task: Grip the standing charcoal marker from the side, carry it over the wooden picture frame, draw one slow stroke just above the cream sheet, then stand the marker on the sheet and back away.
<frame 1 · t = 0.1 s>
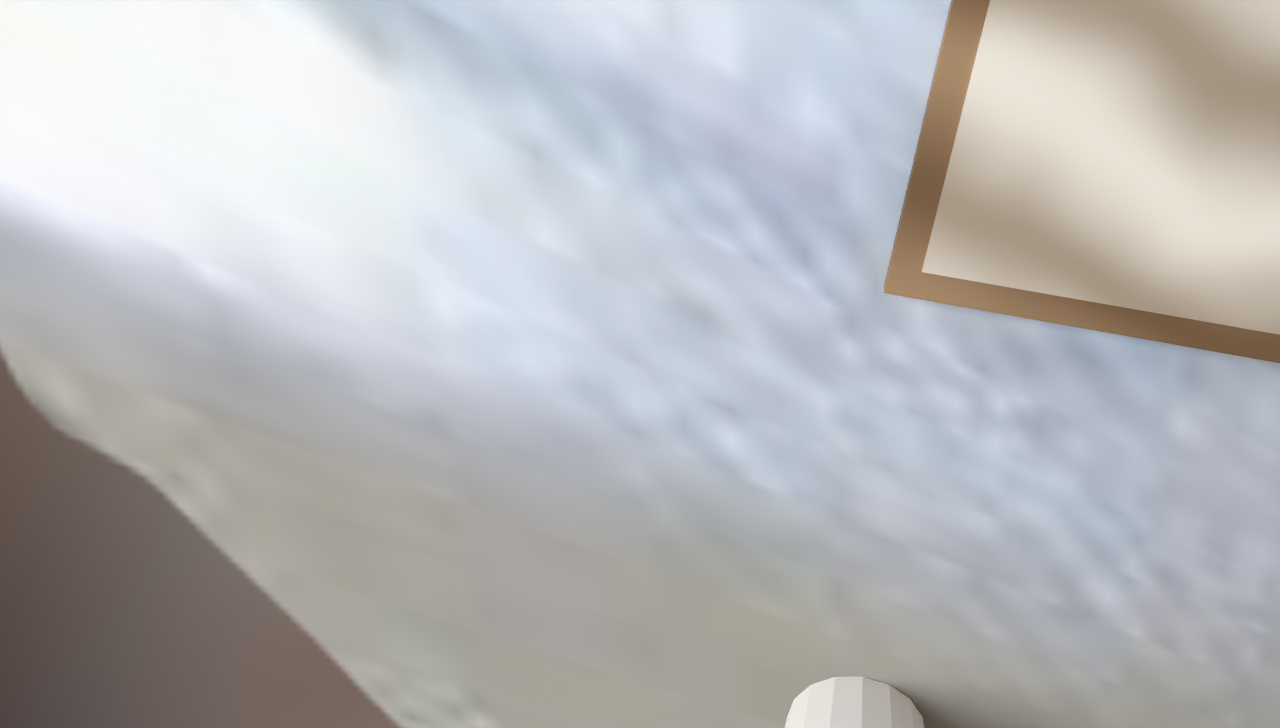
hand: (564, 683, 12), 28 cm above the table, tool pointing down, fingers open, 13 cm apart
wooden picture frame: (1194, 48, 34), on the table
white cylinder: (855, 723, 49), on the table
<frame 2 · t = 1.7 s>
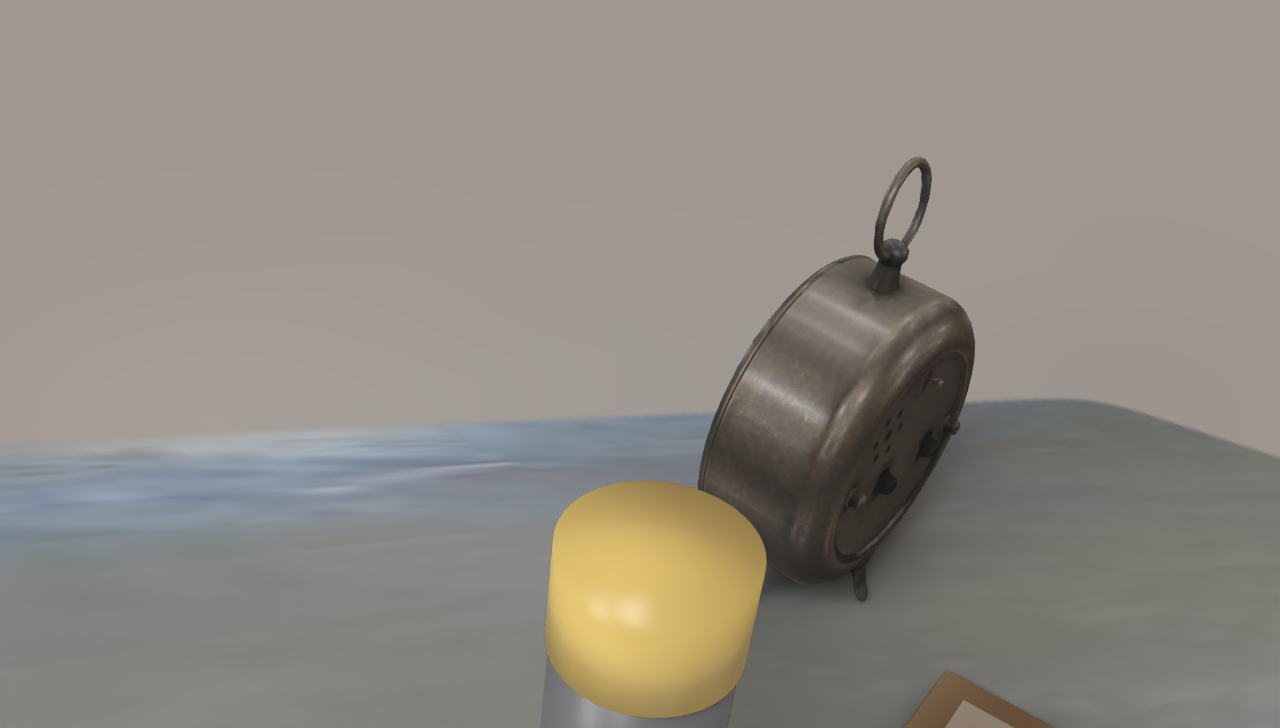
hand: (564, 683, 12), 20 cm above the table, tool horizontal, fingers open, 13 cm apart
alarm clock: (813, 575, 44), on the table
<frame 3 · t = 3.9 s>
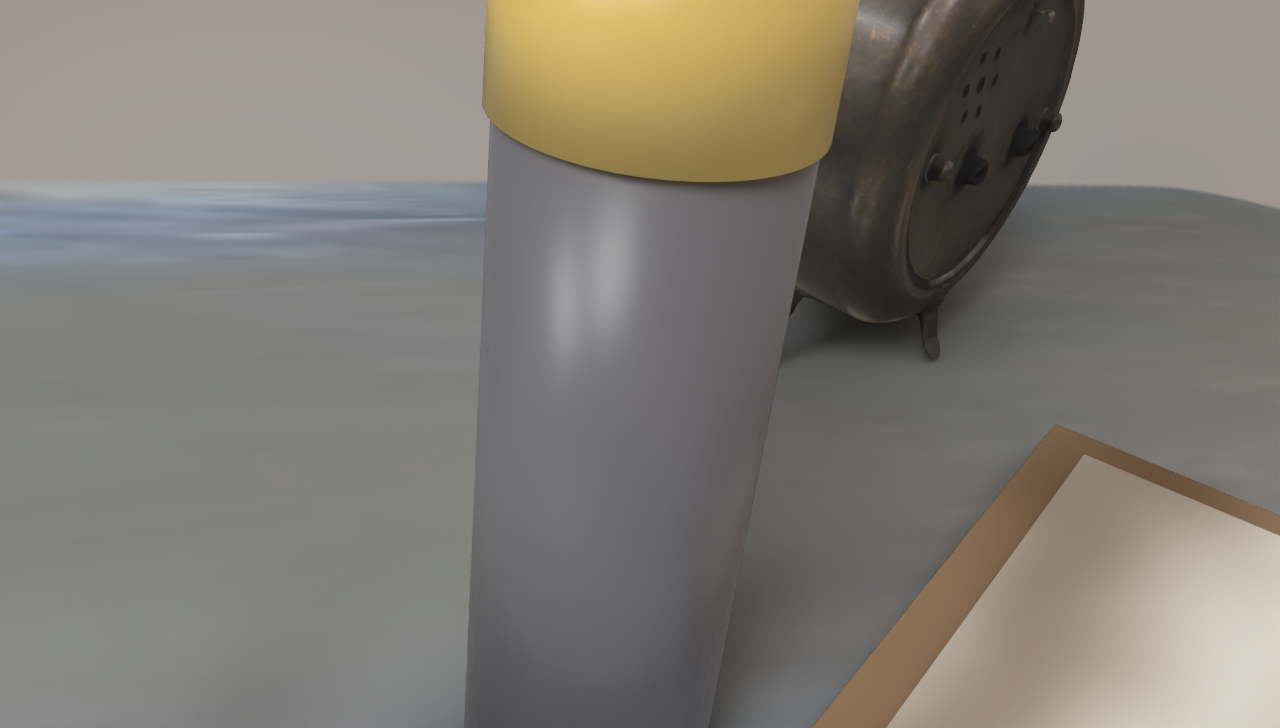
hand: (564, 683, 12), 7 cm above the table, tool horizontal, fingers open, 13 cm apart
alarm clock: (866, 336, 34), on the table
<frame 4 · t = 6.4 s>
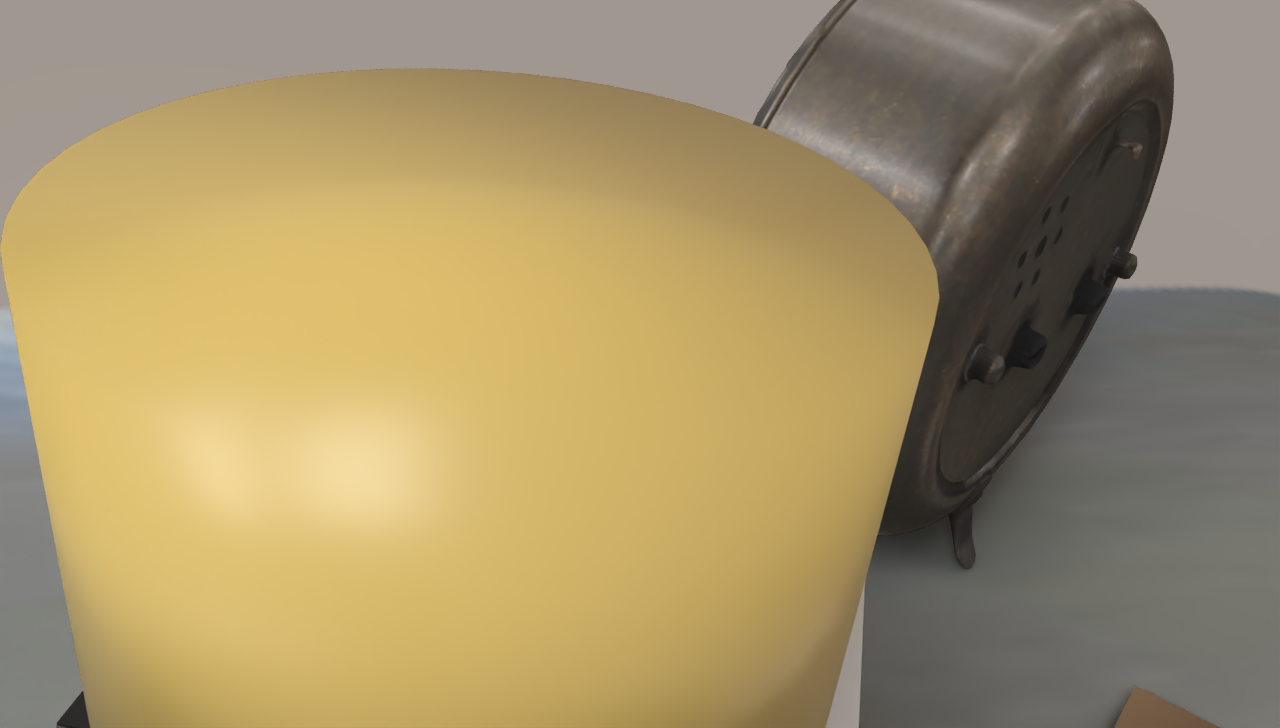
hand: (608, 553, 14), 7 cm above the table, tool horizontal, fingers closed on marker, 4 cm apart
alarm clock: (879, 527, 26), on the table
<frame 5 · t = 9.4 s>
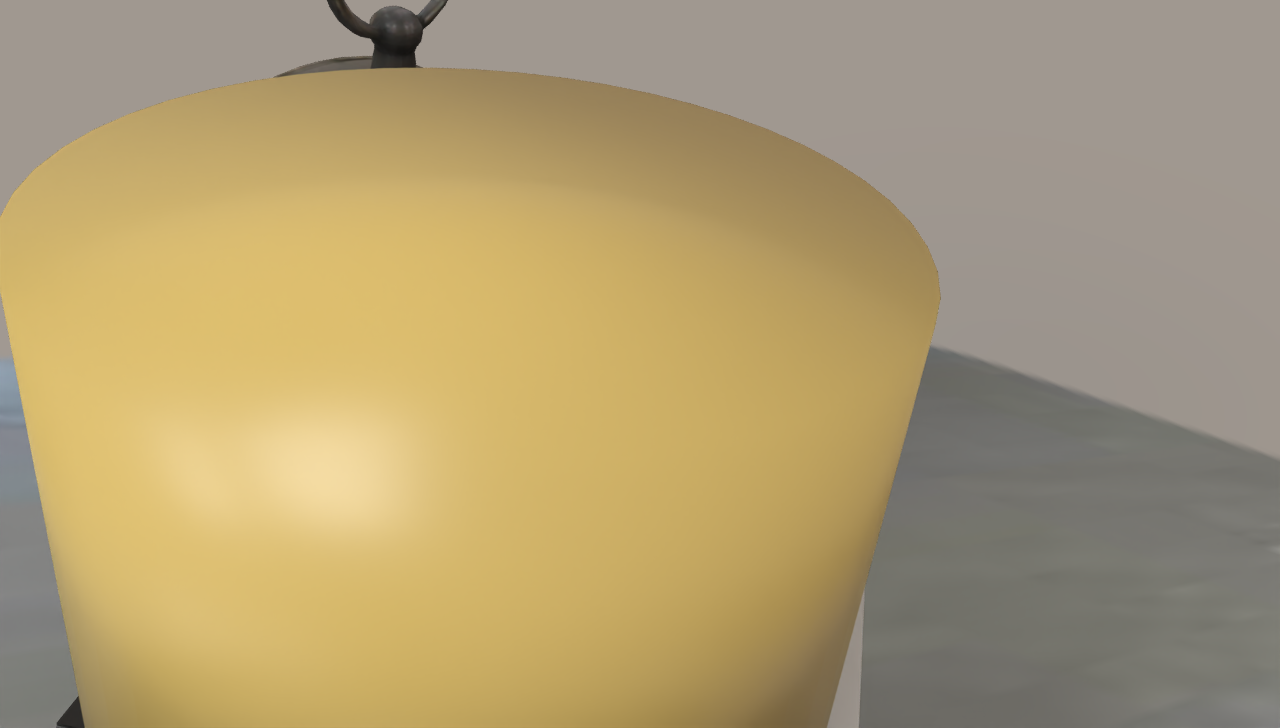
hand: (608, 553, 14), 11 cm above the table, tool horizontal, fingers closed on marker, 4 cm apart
alarm clock: (389, 586, 28), on the table
when the fingers open (8 cm above the table, at t = 12.5 s): marker stays where it is, resting on wooden picture frame.
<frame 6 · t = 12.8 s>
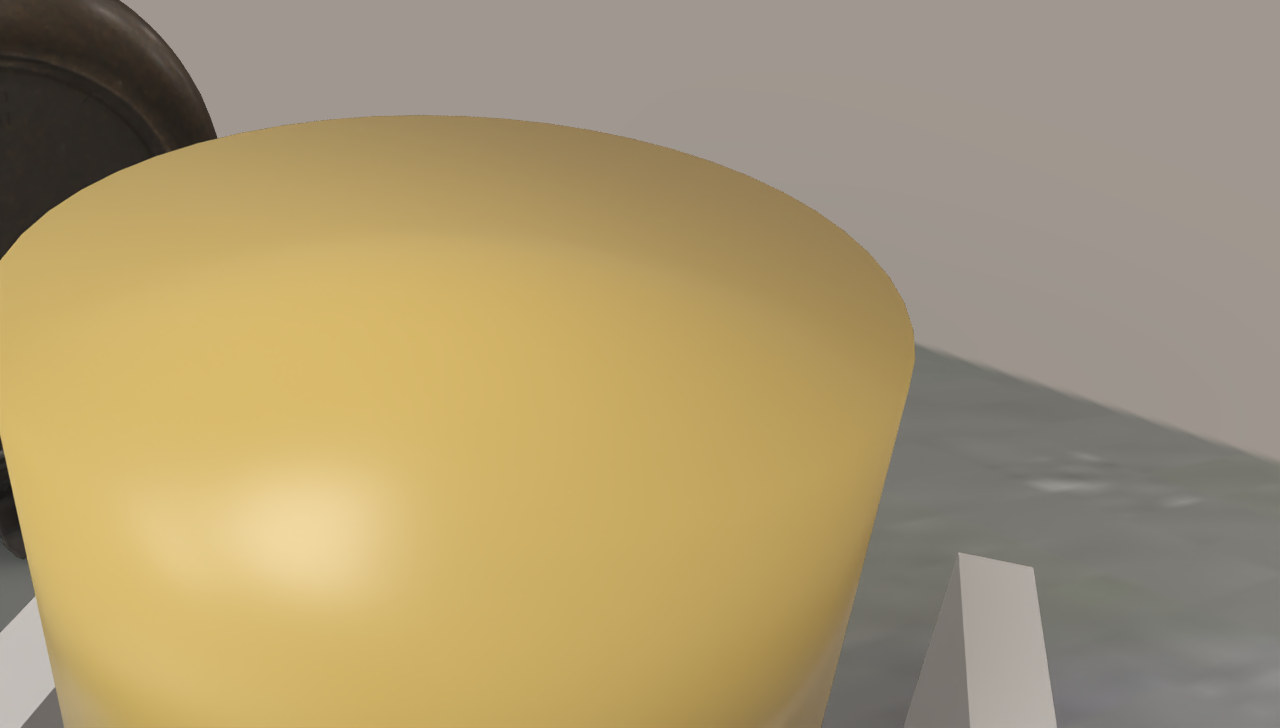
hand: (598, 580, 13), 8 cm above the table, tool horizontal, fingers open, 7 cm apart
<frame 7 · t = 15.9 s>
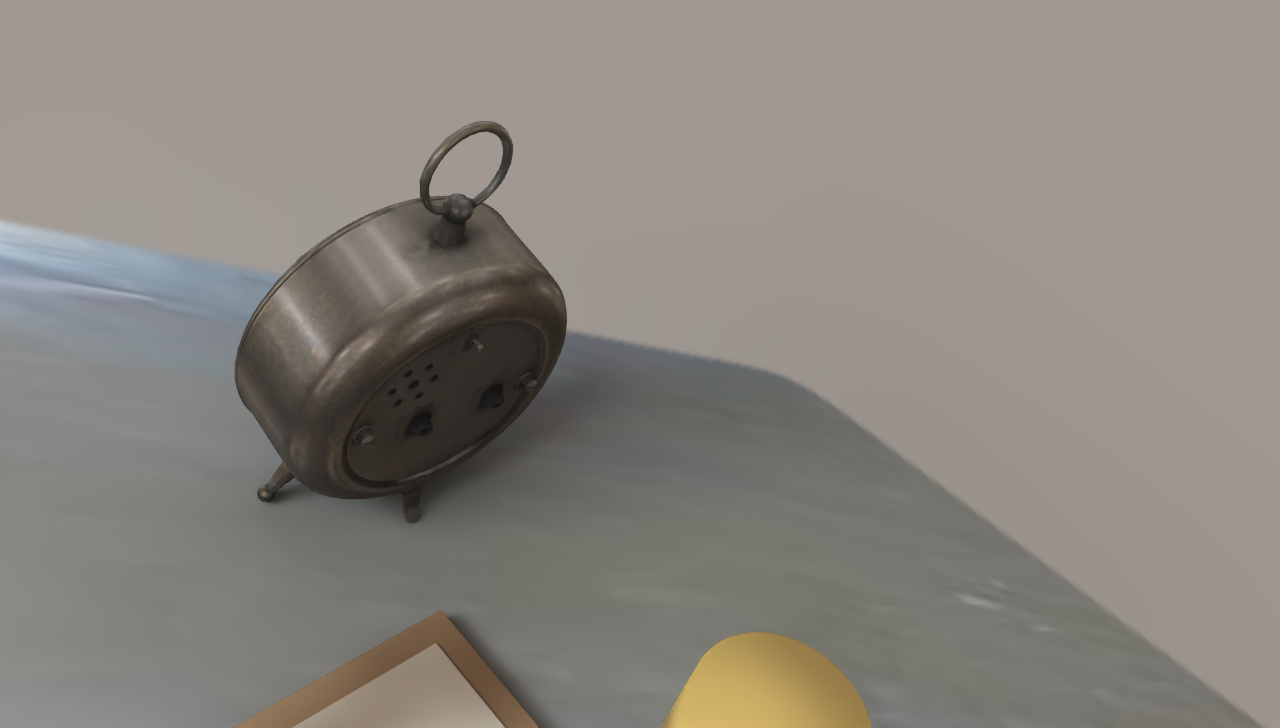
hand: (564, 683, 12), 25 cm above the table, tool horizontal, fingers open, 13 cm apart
alarm clock: (383, 484, 45), on the table
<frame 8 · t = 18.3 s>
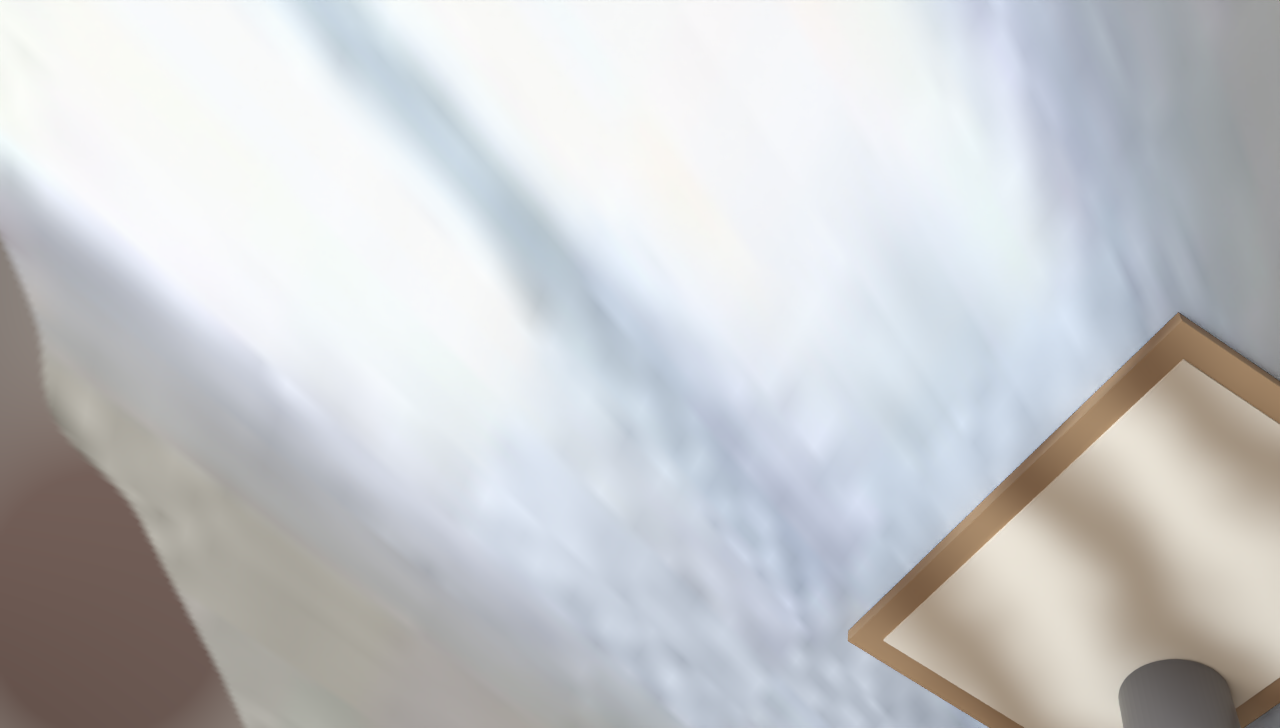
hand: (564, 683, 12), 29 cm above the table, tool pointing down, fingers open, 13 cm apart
wooden picture frame: (1146, 585, 44), on the table
marker: (1174, 697, 45), point 1 cm above the table, touching wooden picture frame
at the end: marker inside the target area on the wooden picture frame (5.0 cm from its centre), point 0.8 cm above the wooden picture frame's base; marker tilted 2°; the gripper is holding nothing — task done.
